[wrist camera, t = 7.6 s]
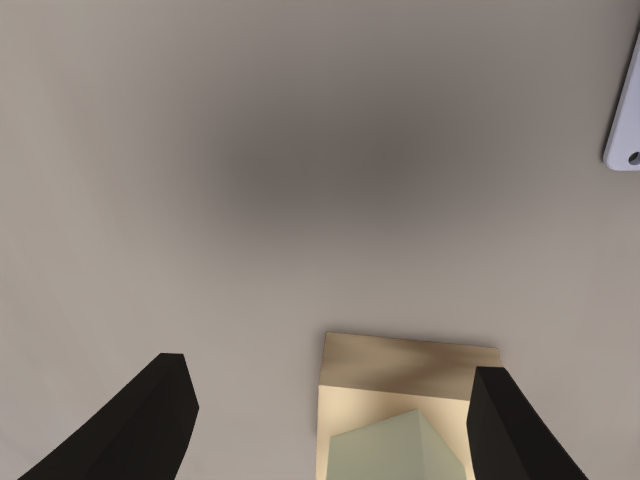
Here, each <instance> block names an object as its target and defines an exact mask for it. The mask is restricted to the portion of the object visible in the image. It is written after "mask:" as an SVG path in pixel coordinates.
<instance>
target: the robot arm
mask: <svg viewBox="0 0 640 480" xmlns="http://www.w3.org/2000/svg"><path fill="white" fill-rule="evenodd" d="M635 152H638V156H637V158H636V159H634V160H633V161H630V162H628V159H629V157H630V155H632V154H633V153H635ZM603 162H604V164H605V165H606V166H607V167H609V168H610V169H612V170H615V171H640V32H639V35H638V39H637V42H636V45H635V49H634V52H633V56H632V59H631V63H630V66H629V70H628V73H627V76H626V80H625V83H624V87H623V90H622V94H621V97H620V101H619V104H618V107H617V111H616V114H615V118H614V121H613V125H612V128H611V132H610V135H609V138H608V142H607V145H606V149H605V152H604V156H603ZM198 410H199V405H198V402H197V398H196V395H195V392H194V388H193V385H192V382H191V378H190V375H189V372H188V368H187V365H186V362H185V358H184V355H183V354H173V353H160V354H159V355H158V356H157V357H156V358H155V359H154V360H152V361H151V362H150V363H149V364H148V365H147V366H146V367H145V368H144V369H143V370H142V371H141V372H140V373H139V374H138V375H137V376H135V377H134V378H133V379H132V380H131V381H130V382H129V383H128V384H127V385H126V386H125V387H124V388H123V389H122V390H121V391H120V392H118V393H117V394H116V395H115V396H114V397H113V398H112V399H111V400H110V401H109V402H108V403H107V404H106V405H104V406H103V407H102V408H101V409H100V410H99V411H98V412H97V413H96V414H95V415H94V416H92V417H91V418H90V419H89V420H88V421H87V422H86V423H85V424H84V425H82V426H81V427H80V428H79V429H78V430H77V431H75V432H74V433H73V434H72V435H71V436H70V437H68V438H67V439H66V440H65V441H64V442H63V443H61V444H60V445H59V446H58V447H57V448H56V449H54V450H53V451H52V452H51V453H50V454H49V455H47V456H46V457H45V458H44V459H43V460H41V461H40V462H39V463H38V464H36V465H35V466H34V467H33V468H31V469H30V470H29V471H28V472H26V473H25V474H24V475H23V476H21V477H20V478H19V479H17V480H174V479H175V477H176V474H177V472H178V470H179V467H180V465H181V462H182V460H183V458H184V455H185V453H186V450H187V448H188V445H189V441H190V438H191V435H192V432H193V428H194V425H195V421H196V418H197V414H198ZM466 427H467V434H468V441H469V448H470V454H471V461H472V467H473V471H474V475H475V479H476V480H589V479H588V478H587V477H586V476H585V474H584V473H583V472H582V471H581V470H580V468H579V467H578V466H577V465H576V463H575V462H574V461H573V460H572V458H571V457H570V456H569V455H568V453H567V452H566V451H565V449H564V448H563V447H562V446H561V444H560V443H559V442H558V441H557V439H556V438H555V437H554V435H553V434H552V433H551V431H550V430H549V429H548V428H547V426H546V425H545V424H544V422H543V421H542V419H541V418H540V417H539V415H538V414H537V413H536V411H535V410H534V408H533V407H532V406H531V404H530V403H529V402H528V400H527V399H526V397H525V396H524V394H523V393H522V392H521V390H520V389H519V387H518V386H517V384H516V383H515V381H514V380H513V378H512V377H511V376H510V374H509V373H508V371H507V370H506V369H505V368H504V367H486V366H476V370H475V376H474V381H473V387H472V392H471V398H470V404H469V409H468V415H467V420H466Z"/></svg>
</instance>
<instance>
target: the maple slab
mask: <svg viewBox="0 0 640 480" xmlns="http://www.w3.org/2000/svg"><path fill="white" fill-rule="evenodd" d="M476 366H486V367H503V364H502V362H501V359H500V356H499V353H498V350H497V348H490V347H479V346H468V345H458V344H447V343H437V342H426V341H416V340H405V339H394V338H384V337H373V336H363V335H352V334H341V333H331V332H326V338H325V345H324V352H323V360H322V367H321V374H320V381H319V397H318V427H317V458H316V480H326V475H327V464H328V454H329V443H330V437H333V436H336V435H339V434H342V433H346V432H349V431H352V430H355V429H358V428H361V427H364V426H367V425H370V424H373V423H376V422H379V421H382V420H385V419H388V418H391V417H394V416H397V415H400V414H403V413H406V412H409V411H413V410H416V409H419V410H420V412H421V413H422V414H423V415H424V417H425V418H426V419H427V420H428V422H429V423H430V424H431V425H432V427H433V428H434V429H435V430H436V432H437V433H438V434H439V436H440V437H441V438H442V439H443V441H444V442H445V443H446V444H447V446H448V447H449V448H450V449H451V451H452V452H453V453H454V454H455V456H456V457H457V458H458V459H459V461H460V462H461V463H462V464H463V466H464V467H465V473H466V478H467V480H476V479H475V475H474V471H473V467H472V461H471V454H470V448H469V441H468V434H467V427H466V420H467V415H468V409H469V404H470V398H471V392H472V387H473V381H474V376H475V370H476Z"/></svg>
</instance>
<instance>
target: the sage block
mask: <svg viewBox="0 0 640 480" xmlns="http://www.w3.org/2000/svg"><path fill="white" fill-rule="evenodd" d="M326 480H467V478H466V473H465V467H464V466H463V464H462V463H461V462H460V461H459V459H458V458H457V457H456V456H455V454H454V453H453V452H452V451H451V449H450V448H449V447H448V446H447V444H446V443H445V442H444V441H443V439H442V438H441V437H440V436H439V434H438V433H437V432H436V430H435V429H434V428H433V427H432V425H431V424H430V423H429V422H428V420H427V419H426V418H425V417H424V415H423V414H422V413H421V412H420V410H419V409H416V410H413V411H409V412H406V413H403V414H400V415H397V416H394V417H391V418H388V419H385V420H382V421H379V422H376V423H373V424H370V425H367V426H364V427H361V428H358V429H355V430H352V431H349V432H346V433H342V434H339V435H336V436H333V437H330V443H329V454H328V464H327V475H326Z"/></svg>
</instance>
